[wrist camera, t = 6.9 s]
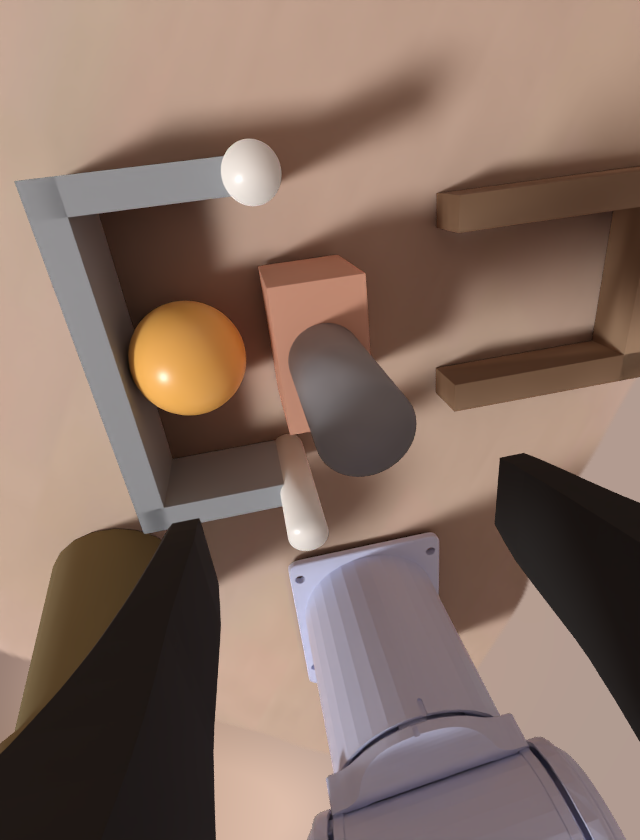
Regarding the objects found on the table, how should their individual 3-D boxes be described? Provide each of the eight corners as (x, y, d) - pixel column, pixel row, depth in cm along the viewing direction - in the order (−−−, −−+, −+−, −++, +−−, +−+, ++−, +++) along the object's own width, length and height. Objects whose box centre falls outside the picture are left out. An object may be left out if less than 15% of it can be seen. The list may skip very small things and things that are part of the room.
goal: (304, 457, 22) (330, 546, 17) (156, 485, 21) (134, 587, 16) (259, 148, 16) (276, 135, 11) (53, 173, 15) (-35, 171, 10)
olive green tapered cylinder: (127, 506, 21) (50, 776, 12) (210, 582, 24) (201, 850, 15) (22, 573, 22) (-136, 882, 12) (114, 640, 25) (45, 933, 15)
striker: (348, 377, 20) (428, 506, 12) (278, 389, 20) (314, 529, 12) (337, 254, 18) (428, 315, 10) (257, 265, 18) (286, 338, 10)
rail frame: (607, 361, 23) (639, 376, 21) (435, 392, 22) (454, 411, 20) (643, 165, 19) (686, 164, 17) (436, 193, 18) (459, 195, 16)
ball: (123, 431, 17) (187, 384, 20) (219, 441, 15) (272, 389, 19) (84, 320, 15) (162, 289, 18) (190, 321, 14) (255, 286, 17)
